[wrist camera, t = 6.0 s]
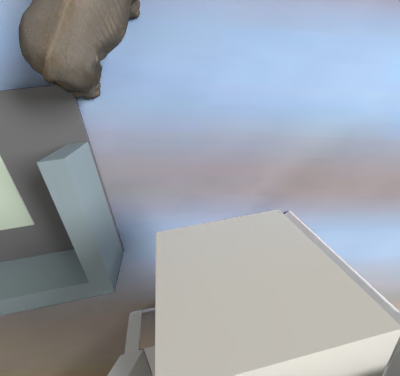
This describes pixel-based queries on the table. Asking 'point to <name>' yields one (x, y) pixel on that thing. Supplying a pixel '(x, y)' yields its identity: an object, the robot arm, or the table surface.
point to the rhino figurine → (73, 39)
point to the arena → (51, 205)
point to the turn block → (262, 305)
